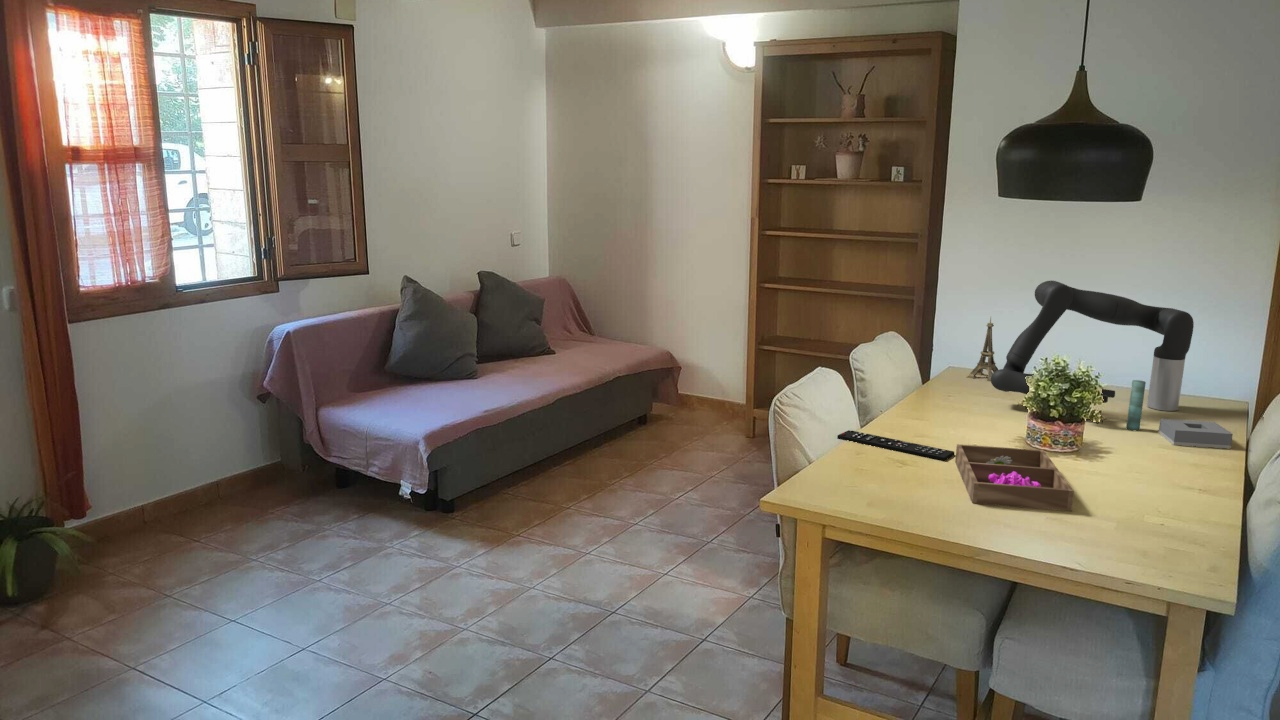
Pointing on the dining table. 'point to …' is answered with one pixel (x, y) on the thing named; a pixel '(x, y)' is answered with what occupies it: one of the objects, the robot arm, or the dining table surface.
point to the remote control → (896, 445)
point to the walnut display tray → (1025, 463)
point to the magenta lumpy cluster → (1012, 479)
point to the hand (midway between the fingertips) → (1111, 396)
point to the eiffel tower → (982, 364)
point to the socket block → (1195, 433)
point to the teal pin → (1135, 405)
